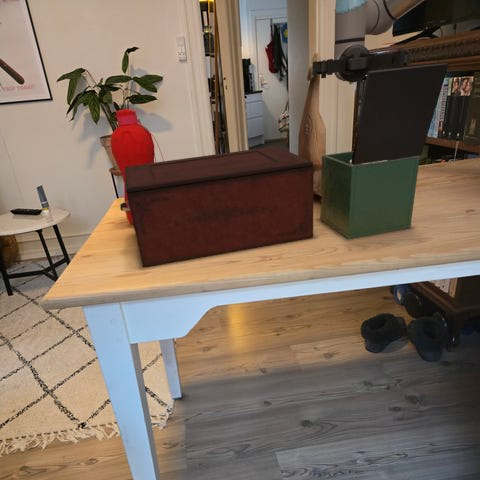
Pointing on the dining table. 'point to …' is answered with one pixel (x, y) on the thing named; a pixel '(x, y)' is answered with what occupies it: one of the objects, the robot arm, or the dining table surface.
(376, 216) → the green cube bin
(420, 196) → the dining table surface
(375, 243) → the dining table surface
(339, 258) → the dining table surface
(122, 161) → the water bottle
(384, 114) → the black flat panel
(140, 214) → the storage box
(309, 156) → the bird sculpture
